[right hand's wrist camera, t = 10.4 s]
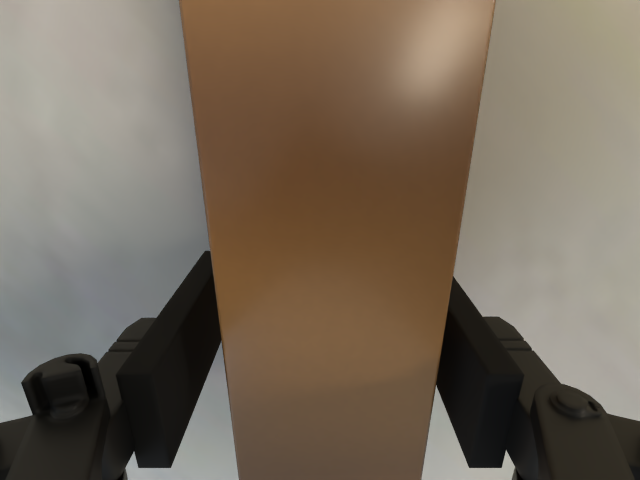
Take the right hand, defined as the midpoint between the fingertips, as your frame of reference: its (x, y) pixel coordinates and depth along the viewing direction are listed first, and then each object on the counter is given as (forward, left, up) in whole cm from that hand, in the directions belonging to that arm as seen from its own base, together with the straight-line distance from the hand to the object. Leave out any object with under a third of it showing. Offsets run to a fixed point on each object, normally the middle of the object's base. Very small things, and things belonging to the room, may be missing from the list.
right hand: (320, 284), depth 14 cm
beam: (-3, -24, -2) cm, 24 cm away
